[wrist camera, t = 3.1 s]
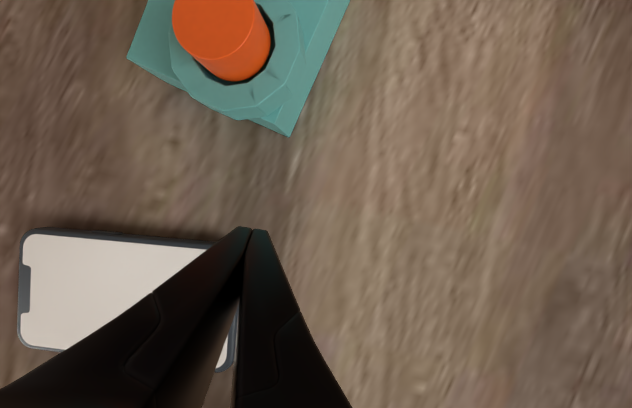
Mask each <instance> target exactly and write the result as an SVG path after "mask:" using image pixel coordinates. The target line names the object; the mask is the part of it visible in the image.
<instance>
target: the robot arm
mask: <svg viewBox="0 0 632 408" xmlns="http://www.w3.org/2000/svg"><path fill="white" fill-rule="evenodd" d="M239 300H240V301H239ZM238 304H239V310H238V321H237V332H236V344H235V356H234V367H233V379H232V391H231V402H230V408H352V406H351V405H350V403H349V401H348V400H347V398H346V396H345V394H344V393H343V391H342V389H341V388H340V386H339V384H338V382H337V381H336V379H335V377H334V376H333V374H332V372H331V371H330V369H329V367H328V365H327V364H326V362H325V360H324V358H323V357H322V355H321V353H320V351H319V349H318V347H317V346H316V344H315V342H314V340H313V338H312V336H311V334H310V331H309V329H308V327H307V325H306V323H305V320H304V318H303V315H302V313H301V312H300V308H299V306H298V304H297V301H296V299H295V296H294V294H293V292H292V289H291V287H290V284H289V282H288V279H287V277H286V275H285V272H284V270H283V267H282V265H281V263H280V260H279V258H278V255H277V253H276V251H275V248H274V246H273V243H272V241H271V238H270V236H269V234H268V232H267V231H266V230H260V229H253V231H252V229H251V228H247V227H241V226H238V227H236V228H235V229H234V230H232V231H231V232H230V233H228V234H227V235H226V236H225V237H223V238H222V239H221V240H219V241H218V242H217V243H215V244H214V245H213V246H211V247H210V248H209V249H207V250H206V251H205V252H203V253H202V254H201V255H199V256H198V257H197V258H195V259H194V260H193V261H191V262H190V263H189V264H187V265H186V266H185V267H184V268H182V269H181V270H180V271H178V272H177V273H176V274H174V275H173V276H172V277H170V278H169V279H168V280H166V281H165V282H164V283H162V284H161V285H160V286H158V287H157V288H156V289H154V290H153V291H152V293H149V294H148V295H146V296H145V297H144V298H142V299H141V300H140V301H138V302H137V303H136V304H134V305H133V306H131V307H130V308H129V309H127V310H126V311H124V312H123V313H122V314H120V315H119V316H118V317H116V318H115V319H113V320H111V321H110V322H108V323H107V324H105V325H104V326H102V327H101V328H99V329H98V330H96V331H95V332H93V333H92V334H90V335H88V336H87V337H85V338H84V339H82V340H80V341H79V342H77V343H75V344H74V345H72V346H71V347H69V348H67V349H66V350H64V351H63V352H61V353H59V354H58V355H56V356H55V357H53V358H51V359H50V360H48V361H47V362H45V363H43V364H42V365H40V366H39V367H37V368H35V369H34V370H32V371H31V372H29V373H27V374H26V375H24V376H23V377H21V378H19V379H18V380H16V381H14V382H12V383H11V384H9V385H7V386H5V387H3V388H1V389H0V408H201V407H202V405H203V402H204V399H205V396H206V394H207V391H208V388H209V385H210V382H211V380H212V377H213V374H214V371H215V369H216V366H217V363H218V360H219V357H220V355H221V352H222V349H223V346H224V344H225V341H226V338H227V335H228V333H229V330H230V327H231V324H232V321H233V319H234V316H235V313H236V310H237V307H238Z"/></svg>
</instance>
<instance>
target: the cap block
mask: <svg viewBox="0 0 632 408" xmlns="http://www.w3.org/2000/svg"><path fill="white" fill-rule="evenodd" d="M254 1H255V3H256V5H257V7H258V9H259V11H260V13H261V15H262V17H263V19H264V21H265V23H266V25H267V27H268V30H269V33H270V39H271V46H270V52H269V56H268V58H267V60H266V62H265V64H264V66H263V67H262V68H261V69H260V70H259V71H258V72H257V73H256V74H255V75H253V76H252V77H250V78H248V79H245V80H242V81H235V82H233V81H226V80H223V79H220V78H218V77H216V76H215V75H214V74H212V73H211V72H210V71H209V70H208V69H207V68H205V67H204V66H203V65H202V64H201V63H200V62H198V61H197V60H196V59H195V58H194V57H193V56H192V55H190V54H189V53H188V52H187V51H186V50H185V49H184V48H183V47H182V46H181V45H180V43H179V42H178V40H177V38H176V36H175V33H174V30H173V25H172V10H173V5H174V2H175V0H148V3H147V5H146V8H145V10H144V13H143V15H142V18H141V21H140V23H139V26H138V28H137V31H136V33H135V36H134V39H133V41H132V44H131V46H130V49H129V51H128V54H127V57H126V58H127V59H128V60H130V61H132V62H133V63H135V64H137V65H138V66H140V67H142V68H143V69H145V70H147V71H148V72H150V73H152V74H153V75H155V76H157V77H158V78H160V79H162V80H163V81H165V82H167V83H168V84H171V85H173V86H175V87H177V88H180V89H182V90H184V91H186V92H188V93H189V94H190V96H191V97H192V98H194V99H195V100H197V101H198V102H200V103H202V104H203V105H205V106H207V107H208V108H210V109H212V110H215V111H217V112H219V113H221V114H223V115H226V116H228V117H230V118H232V119H234V120H244V119H249V120H251V121H253V122H255V123H258V124H260V125H262V126H264V127H267V128H269V129H271V130H273V131H275V132H278V133H280V134H282V135H284V136H287V137H290V135H291V133H292V131H293V128H294V126H295V124H296V122H297V119H298V117H299V115H300V113H301V110H302V108H303V106H304V104H305V101H306V99H307V97H308V95H309V92H310V90H311V88H312V85H313V83H314V81H315V79H316V76H317V74H318V72H319V70H320V67H321V65H322V63H323V61H324V58H325V56H326V54H327V52H328V49H329V47H330V45H331V42H332V40H333V38H334V36H335V33H336V31H337V29H338V27H339V24H340V22H341V20H342V18H343V15H344V13H345V11H346V9H347V6H348V4H349V2H350V0H254Z"/></svg>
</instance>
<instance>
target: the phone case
mask: <svg viewBox="0 0 632 408" xmlns="http://www.w3.org/2000/svg"><path fill="white" fill-rule="evenodd" d="M215 243H217V242H212V241H200V240H189V239H178V238H167V237H156V236H144V235H133V234H123V233H122V232H112V231H101V230H95V231H89V230H77V229H66V228H55V227H43V228H35V229H31V230H29V231H27V232H26V233H25V234H24V235H23V237H22V239H21V241H20V253H19V285H18V318H17V333H18V337H19V339H20V341H21V342H22V343H23V344H24V345H25V346H27V347H29V348H32V349H40V350H47V351H55V352H63V351H64V350H66V349H67V348H69V347H71V346H72V345H74V344H75V343H77V342H79V341H80V340H82V339H84V338H85V337H87V336H88V335H90V334H92V333H93V332H95V331H96V330H98V329H99V328H101V327H102V326H104V325H105V324H107V323H108V322H110V321H111V320H113V319H115V318H116V317H118V316H119V315H120V314H122V313H123V312H124V311H126V310H127V309H129V308H130V307H131V306H133V305H134V304H136V303H137V302H138V301H140V300H141V299H142V298H144V297H145V296H146V295H148V294H149V293H152V291H153V290H154V289H156V288H157V287H158V286H160V285H161V284H162V283H164V282H165V281H166V280H168V279H169V278H170V277H172V276H173V275H174V274H176V273H177V272H178V271H180V270H181V269H182V268H184V267H185V266H186V265H187V264H189V263H190V262H191V261H193V260H194V259H195V258H197V257H198V256H199V255H201V254H202V253H203V252H205V251H206V250H207V249H209V248H210V247H211V246H213V245H214V244H215ZM239 301H240V300H239ZM238 310H239V304H238V307H237V310H236V313H235V316H234V319H233V321H232V324H231V327H230V330H229V333H228V335H227V338H226V341H225V344H224V346H223V349H222V352H221V355H220V357H219V360H218V363H217V366H216V369H215V371H214V372H222V371H225V370H226V369H228V368H229V367H230V366H231V365H232V363H233V362H234V356H235V344H236V332H237V321H238Z"/></svg>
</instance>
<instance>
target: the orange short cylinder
mask: <svg viewBox="0 0 632 408" xmlns="http://www.w3.org/2000/svg"><path fill="white" fill-rule="evenodd" d="M172 25H173V30H174V33H175V36H176V38H177V40H178V42H179V43H180V45H181V46H182V47H183V48H184V49H185V50H186V51H187V52H188V53H189V54H190V55H192V56H193V57H194V58H195V59H196V60H197V61H198V62H200V63H201V64H202V65H203V66H204V67H205V68H207V69H208V70H209V71H210V72H211V73H212V74H214V75H215V76H216V77H218V78H220V79H223V80H226V81H233V82H235V81H242V80H245V79H248V78H250V77H252V76H253V75H255V74H256V73H257V72H258V71H259V70H260V69H261V68H262V67H263V66H264V64H265V62H266V60H267V58H268V56H269V52H270V46H271V39H270V33H269V30H268V27H267V25H266V23H265V21H264V19H263V17H262V15H261V13H260V11H259V9H258V7H257V5H256V3H255V1H254V0H175V2H174V5H173V10H172Z"/></svg>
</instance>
